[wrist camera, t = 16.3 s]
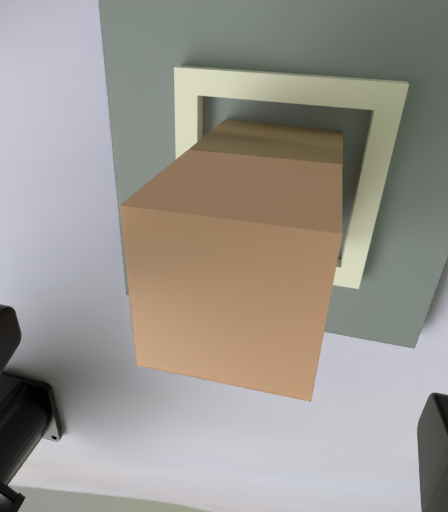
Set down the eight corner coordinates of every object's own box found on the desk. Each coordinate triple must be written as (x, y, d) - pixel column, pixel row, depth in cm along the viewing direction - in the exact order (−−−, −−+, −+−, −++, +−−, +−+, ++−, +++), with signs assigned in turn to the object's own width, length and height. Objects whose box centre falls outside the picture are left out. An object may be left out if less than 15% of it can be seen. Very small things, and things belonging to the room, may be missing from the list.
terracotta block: (319, 296, 15) (310, 401, 11) (190, 276, 16) (136, 365, 12) (342, 164, 13) (342, 233, 9) (187, 149, 14) (119, 205, 10)
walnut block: (322, 238, 20) (317, 298, 15) (220, 223, 20) (188, 275, 16) (342, 131, 17) (343, 166, 13) (224, 119, 18) (189, 148, 14)
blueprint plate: (411, 333, 22) (417, 359, 20) (135, 284, 25) (120, 302, 24) (535, -25, 14) (561, -32, 13) (109, -35, 17) (84, -41, 16)
